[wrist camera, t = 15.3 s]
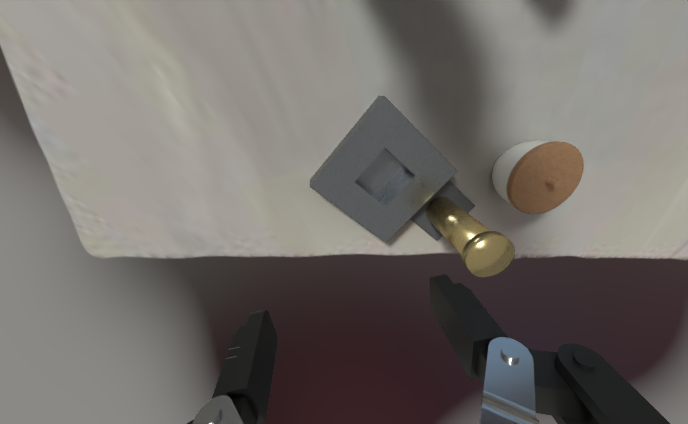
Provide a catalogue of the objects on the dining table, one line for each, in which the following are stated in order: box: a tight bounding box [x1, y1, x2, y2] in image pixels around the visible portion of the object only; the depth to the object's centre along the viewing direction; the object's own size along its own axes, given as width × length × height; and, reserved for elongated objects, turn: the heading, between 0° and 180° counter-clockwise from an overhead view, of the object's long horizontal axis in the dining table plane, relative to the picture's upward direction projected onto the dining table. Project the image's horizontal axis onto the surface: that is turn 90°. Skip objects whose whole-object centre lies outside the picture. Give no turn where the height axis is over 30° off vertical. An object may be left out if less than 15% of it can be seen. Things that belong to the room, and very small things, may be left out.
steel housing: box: [310, 96, 457, 243], centre depth 40 cm, size 16×16×4 cm
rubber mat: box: [411, 180, 475, 240], centre depth 45 cm, size 9×9×1 cm
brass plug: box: [426, 197, 515, 277], centre depth 38 cm, size 6×6×14 cm
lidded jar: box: [492, 140, 584, 214], centre depth 39 cm, size 11×11×9 cm
